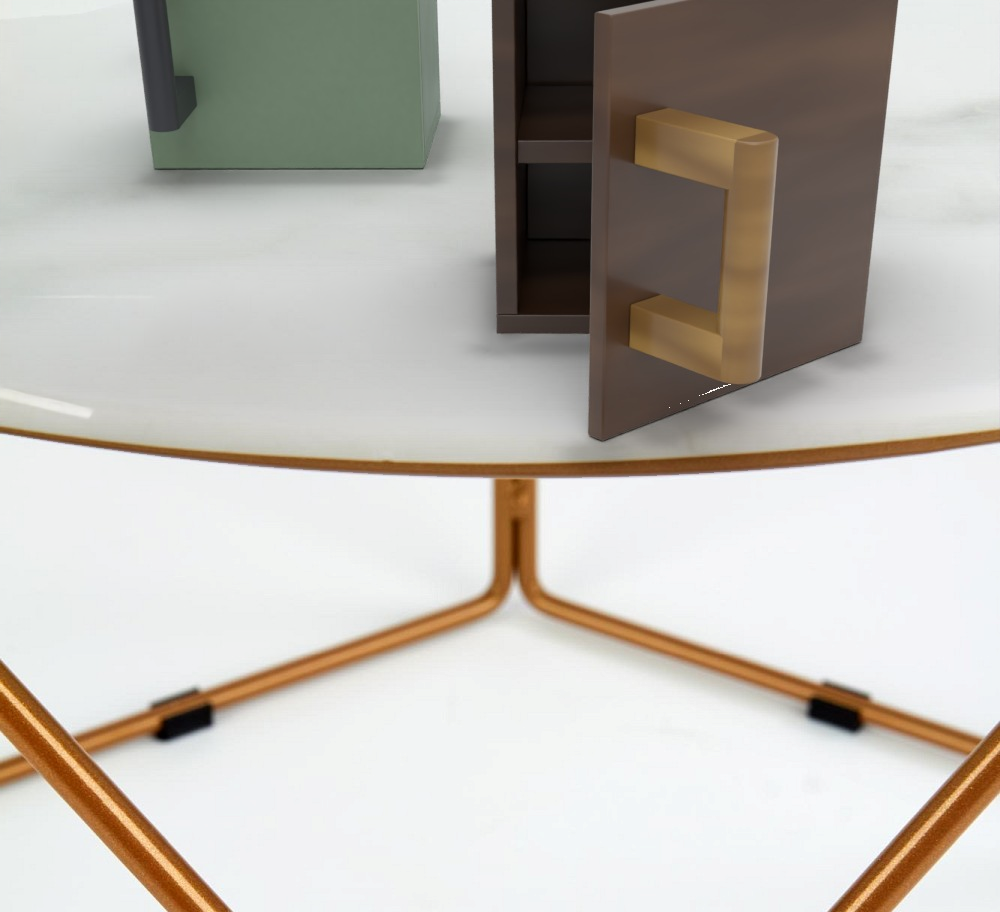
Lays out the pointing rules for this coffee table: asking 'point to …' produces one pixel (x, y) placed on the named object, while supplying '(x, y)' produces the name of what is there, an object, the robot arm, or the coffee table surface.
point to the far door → (282, 83)
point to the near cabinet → (544, 162)
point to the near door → (729, 194)
